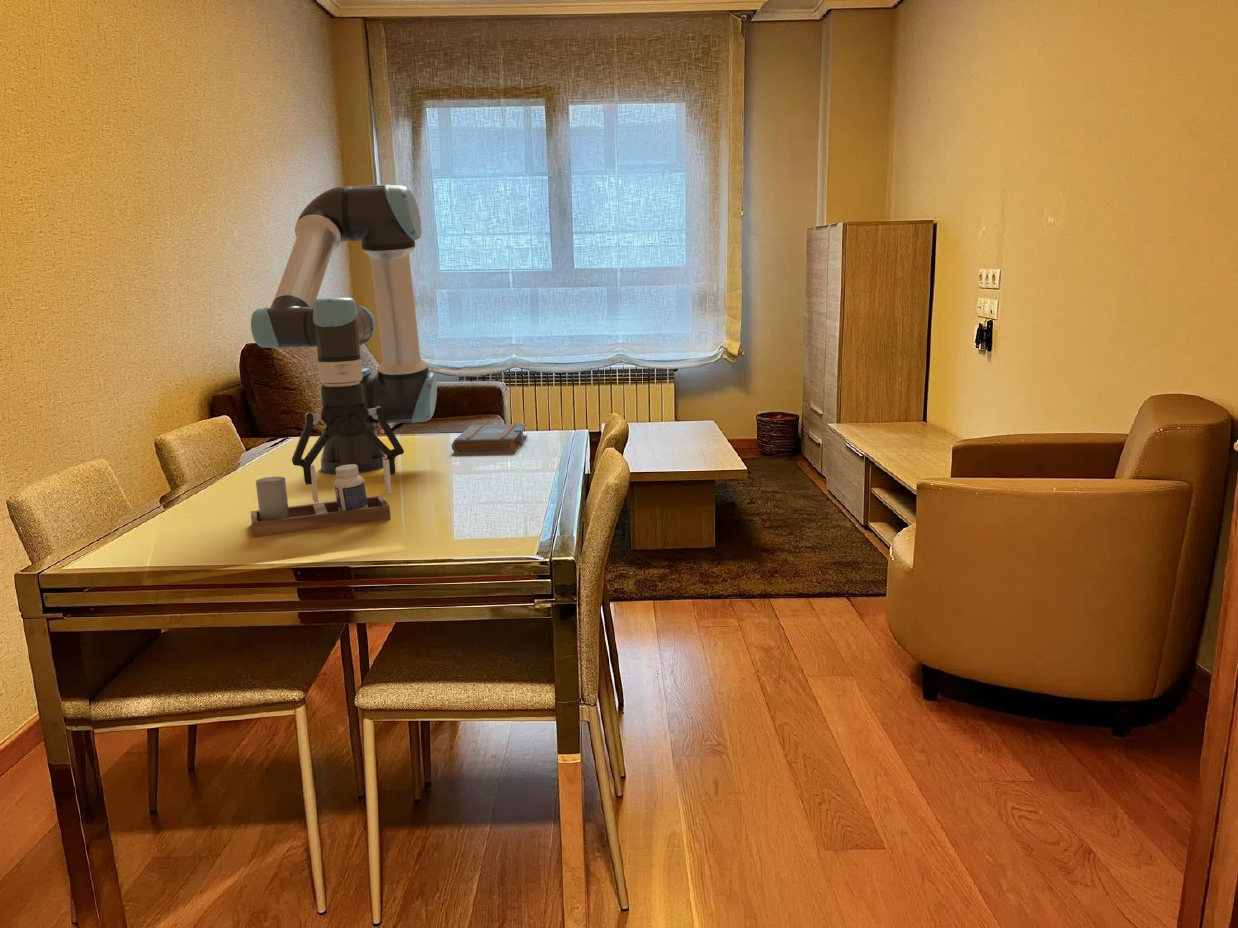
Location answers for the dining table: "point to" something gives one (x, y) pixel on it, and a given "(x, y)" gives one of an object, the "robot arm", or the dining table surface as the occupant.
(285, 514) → the grey rounded cylinder
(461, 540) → the dining table surface
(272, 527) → the rack
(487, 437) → the book
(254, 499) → the dining table surface
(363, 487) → the pill bottle
